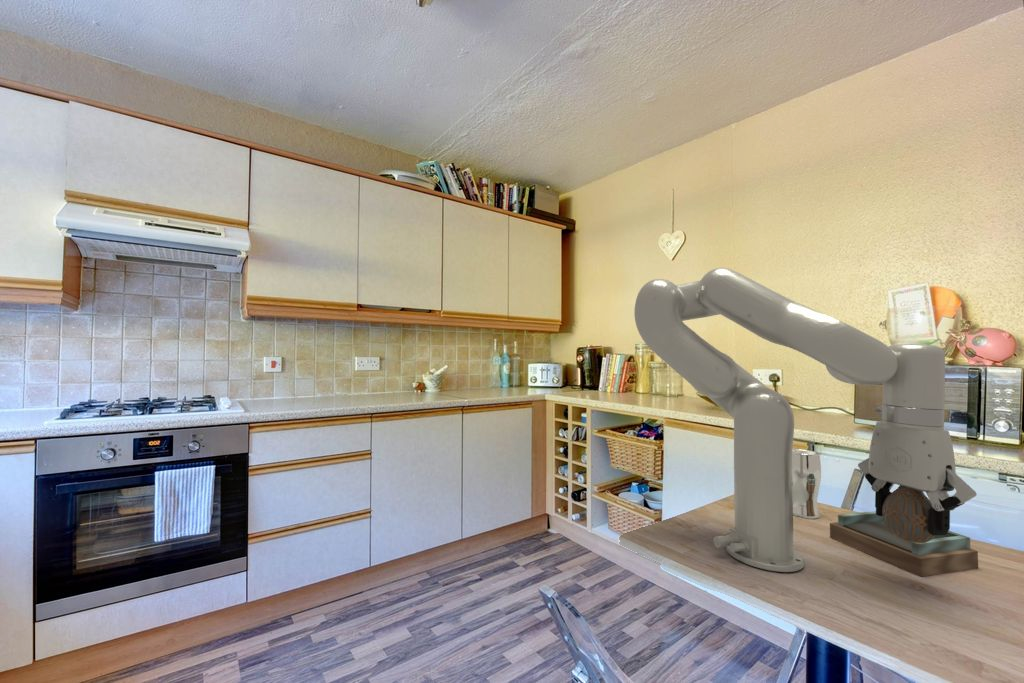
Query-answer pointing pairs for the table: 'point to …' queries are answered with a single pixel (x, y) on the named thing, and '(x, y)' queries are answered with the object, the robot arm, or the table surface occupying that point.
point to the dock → (904, 546)
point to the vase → (907, 514)
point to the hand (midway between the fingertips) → (909, 523)
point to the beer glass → (806, 482)
